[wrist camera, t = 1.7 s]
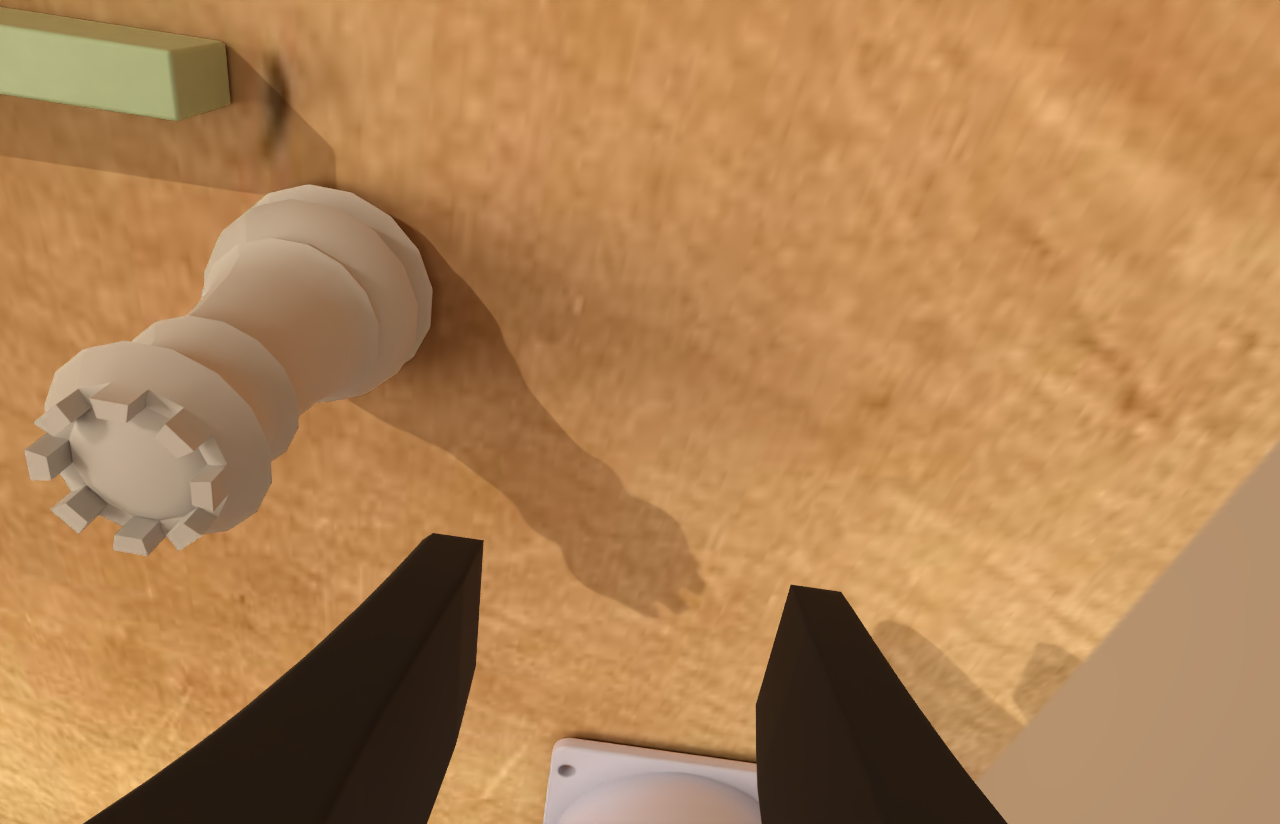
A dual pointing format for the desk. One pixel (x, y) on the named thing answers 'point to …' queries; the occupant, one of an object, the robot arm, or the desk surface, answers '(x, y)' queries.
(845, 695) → the robot arm
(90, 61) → the corner guide
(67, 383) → the rook chess piece
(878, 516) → the desk surface
